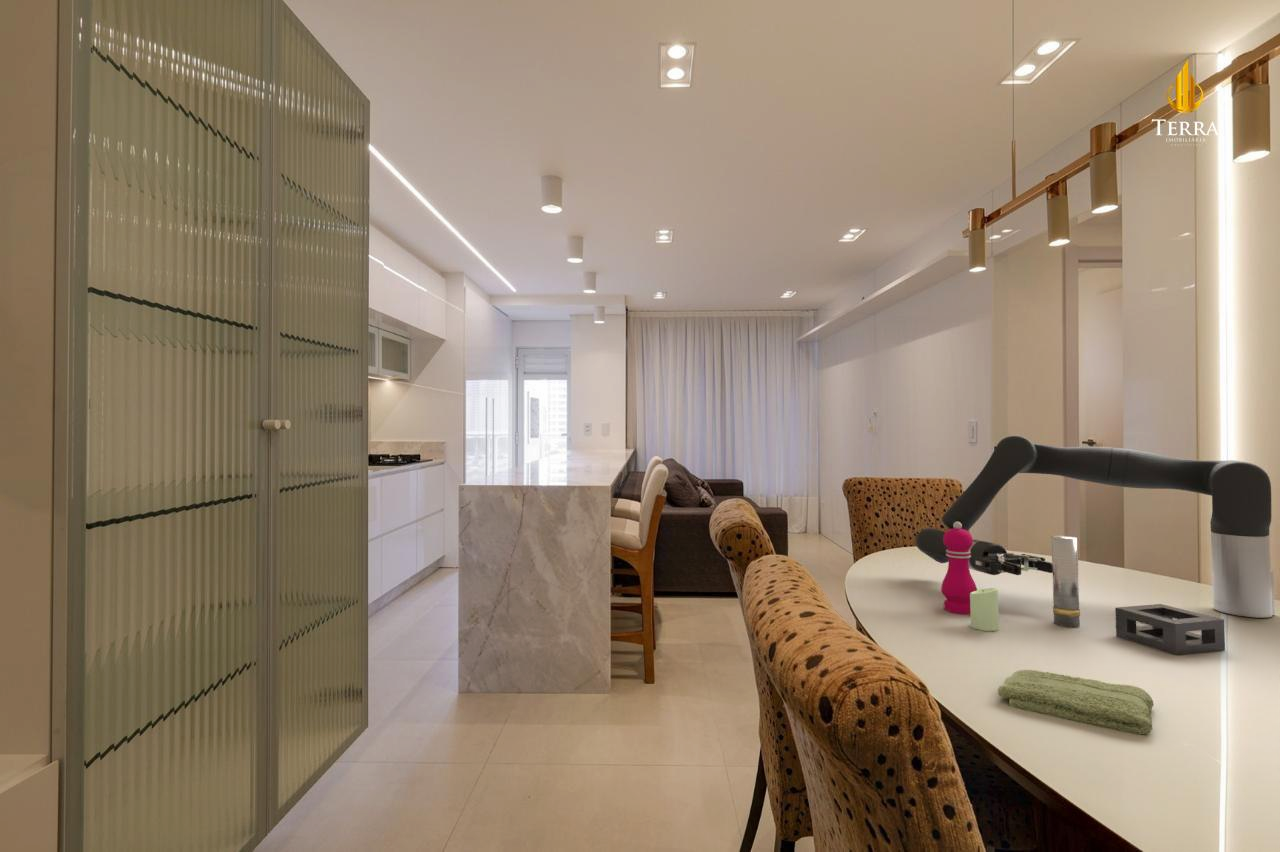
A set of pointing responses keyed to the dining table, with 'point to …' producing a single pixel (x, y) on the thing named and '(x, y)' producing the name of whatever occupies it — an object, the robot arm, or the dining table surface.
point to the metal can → (1065, 581)
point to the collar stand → (1170, 629)
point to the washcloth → (1080, 700)
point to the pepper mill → (958, 570)
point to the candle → (984, 609)
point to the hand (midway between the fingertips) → (1036, 569)
